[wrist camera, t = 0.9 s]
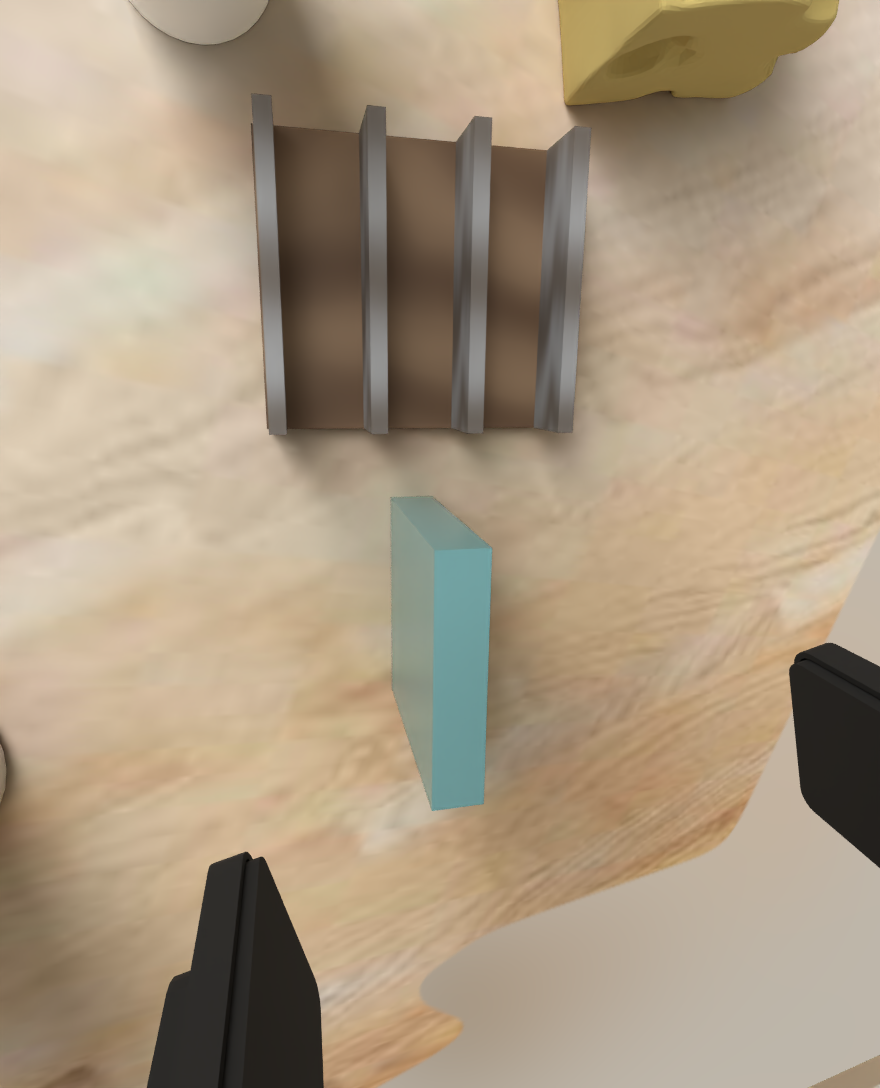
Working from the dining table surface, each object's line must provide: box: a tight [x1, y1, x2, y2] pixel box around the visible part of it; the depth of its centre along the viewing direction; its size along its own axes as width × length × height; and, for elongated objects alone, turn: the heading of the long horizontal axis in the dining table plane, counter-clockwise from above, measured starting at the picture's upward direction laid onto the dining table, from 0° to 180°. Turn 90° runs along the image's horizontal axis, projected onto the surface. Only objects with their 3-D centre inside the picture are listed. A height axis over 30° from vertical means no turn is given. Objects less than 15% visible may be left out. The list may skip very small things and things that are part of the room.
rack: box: [251, 93, 591, 435], centre depth 33 cm, size 14×16×5 cm
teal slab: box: [391, 496, 492, 811], centre depth 34 cm, size 12×2×12 cm, turn 179°
